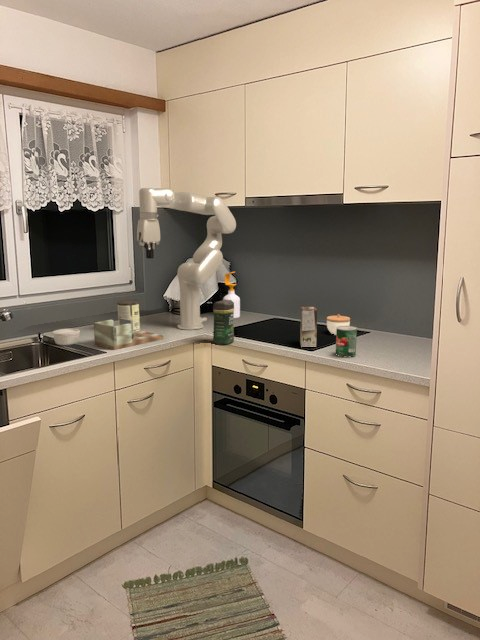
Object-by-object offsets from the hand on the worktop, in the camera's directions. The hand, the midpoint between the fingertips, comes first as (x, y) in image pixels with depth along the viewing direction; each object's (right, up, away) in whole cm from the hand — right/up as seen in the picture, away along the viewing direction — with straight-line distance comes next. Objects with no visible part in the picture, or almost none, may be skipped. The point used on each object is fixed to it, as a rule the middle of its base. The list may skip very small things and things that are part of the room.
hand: (150, 258), depth 241 cm
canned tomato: (+82, -42, -30) cm, 97 cm away
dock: (-8, -37, -7) cm, 39 cm away
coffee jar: (+34, -38, -9) cm, 51 cm away
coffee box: (+69, -39, -14) cm, 81 cm away
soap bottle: (+36, -26, +48) cm, 65 cm away
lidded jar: (+86, -35, +7) cm, 93 cm away
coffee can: (-13, -33, +15) cm, 38 cm away
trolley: (-12, -36, -12) cm, 40 cm away
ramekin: (-34, -38, -9) cm, 52 cm away
